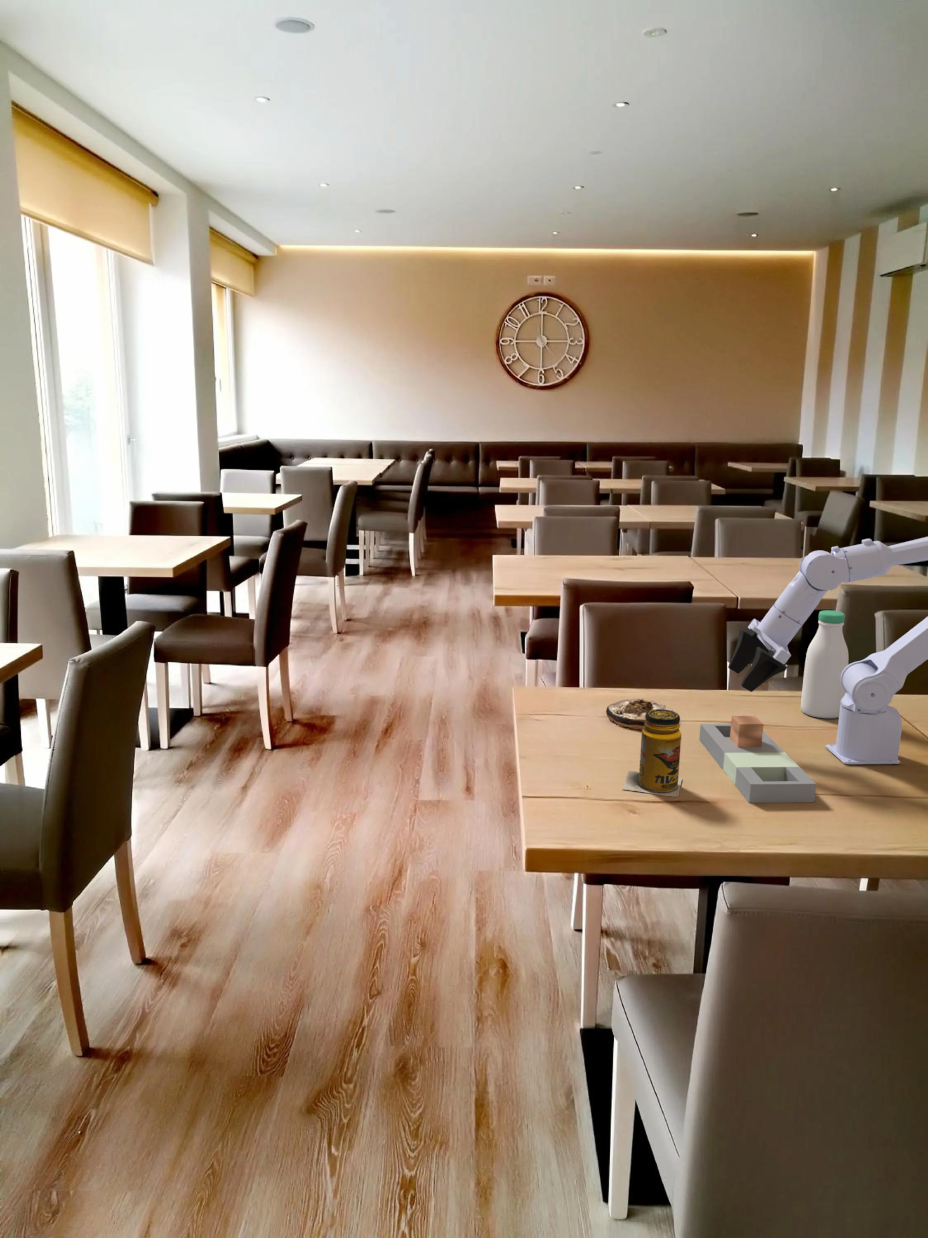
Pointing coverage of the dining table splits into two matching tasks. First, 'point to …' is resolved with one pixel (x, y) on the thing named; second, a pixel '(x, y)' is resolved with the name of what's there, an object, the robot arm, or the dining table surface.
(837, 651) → the milk bottle
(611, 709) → the plate of food
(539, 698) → the dining table surface
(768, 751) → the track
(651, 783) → the condiment
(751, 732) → the block
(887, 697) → the robot arm
